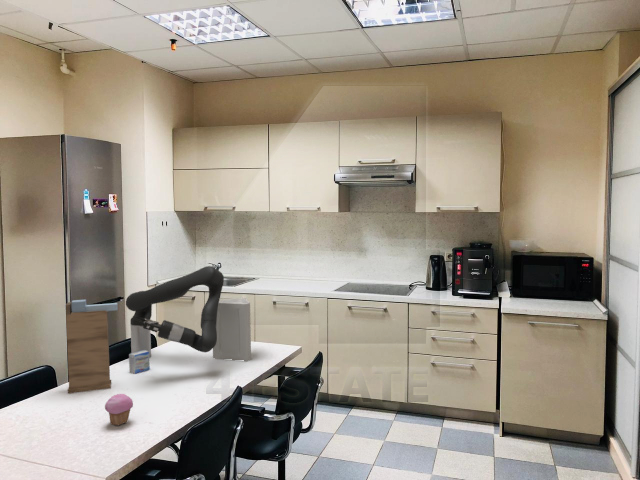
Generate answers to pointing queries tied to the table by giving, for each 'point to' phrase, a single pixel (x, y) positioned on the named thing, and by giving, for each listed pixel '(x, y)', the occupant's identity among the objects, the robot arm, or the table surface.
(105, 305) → the bar
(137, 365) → the medicine box
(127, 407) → the cupcake
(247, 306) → the grey box
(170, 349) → the table surface
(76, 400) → the table surface
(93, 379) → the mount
